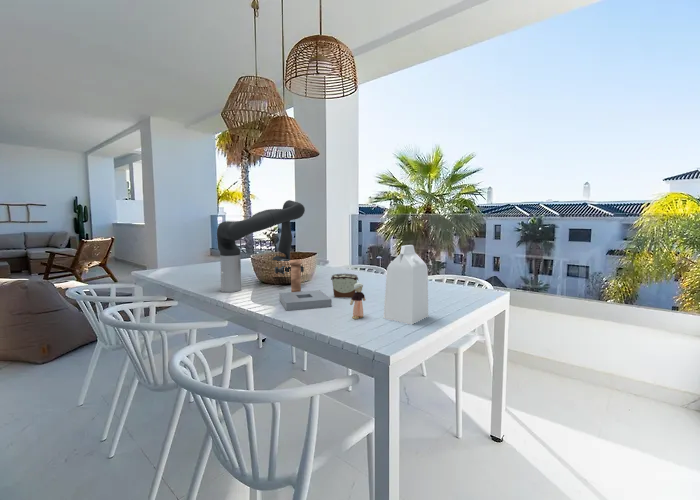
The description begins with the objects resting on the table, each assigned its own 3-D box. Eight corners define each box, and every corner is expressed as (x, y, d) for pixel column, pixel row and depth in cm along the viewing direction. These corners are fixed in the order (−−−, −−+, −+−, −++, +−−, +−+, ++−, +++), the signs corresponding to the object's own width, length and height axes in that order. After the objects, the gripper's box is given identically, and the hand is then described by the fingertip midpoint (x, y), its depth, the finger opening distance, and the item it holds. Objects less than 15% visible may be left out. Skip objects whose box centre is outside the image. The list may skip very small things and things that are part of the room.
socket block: (286, 310, 135) (286, 302, 134) (279, 299, 152) (279, 293, 151) (331, 306, 141) (331, 299, 141) (319, 296, 158) (319, 290, 157)
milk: (401, 311, 135) (402, 243, 132) (428, 316, 127) (430, 245, 125) (383, 318, 125) (384, 245, 123) (411, 324, 118) (413, 247, 116)
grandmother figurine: (357, 320, 122) (357, 284, 121) (348, 318, 124) (348, 283, 123) (368, 315, 129) (368, 281, 128) (359, 313, 131) (359, 280, 130)
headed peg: (291, 295, 160) (290, 261, 158) (289, 293, 165) (288, 260, 163) (303, 294, 161) (302, 261, 160) (300, 292, 167) (300, 259, 165)
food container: (359, 295, 161) (359, 273, 160) (358, 298, 155) (358, 276, 154) (332, 294, 162) (332, 273, 161) (330, 297, 156) (330, 275, 155)
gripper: (272, 260, 185) (276, 264, 170) (299, 259, 190) (305, 263, 175) (272, 274, 186) (277, 279, 171) (299, 272, 191) (306, 278, 175)
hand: (291, 271), depth 173 cm, fingers open, 8 cm apart
